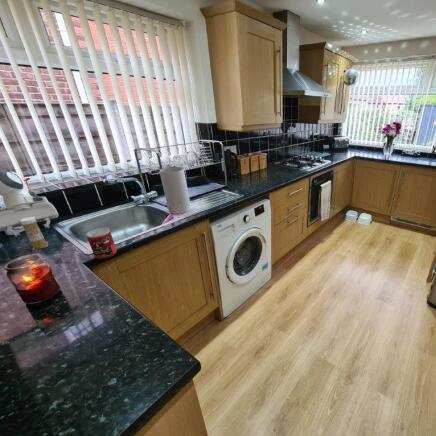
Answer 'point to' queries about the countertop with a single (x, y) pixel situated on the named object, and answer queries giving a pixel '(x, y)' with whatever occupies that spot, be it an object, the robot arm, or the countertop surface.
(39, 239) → the sprinkles bottle
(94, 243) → the canned food
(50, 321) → the countertop surface
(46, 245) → the cork coaster
